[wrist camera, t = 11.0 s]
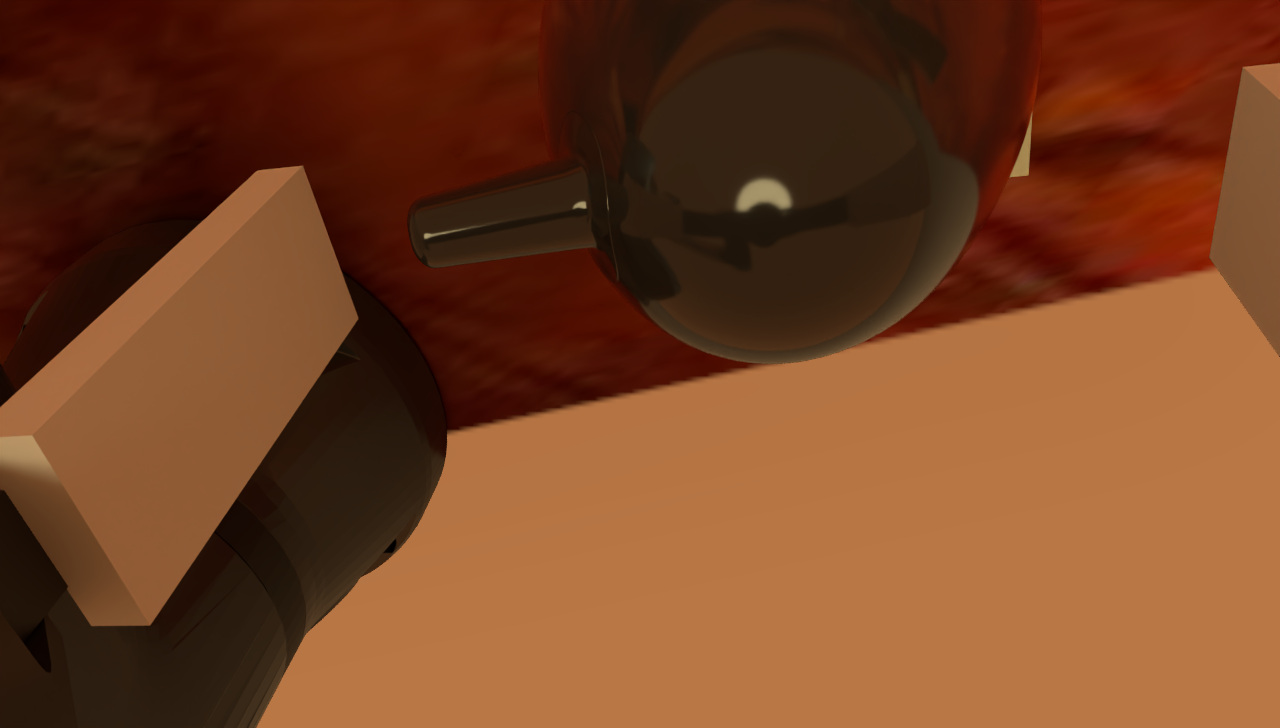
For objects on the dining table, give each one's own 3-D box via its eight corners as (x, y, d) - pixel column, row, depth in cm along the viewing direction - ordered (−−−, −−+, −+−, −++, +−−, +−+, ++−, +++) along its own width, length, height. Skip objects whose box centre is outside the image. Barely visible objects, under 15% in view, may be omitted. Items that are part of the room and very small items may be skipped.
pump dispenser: (556, -232, 23) (260, -131, 11) (1022, -287, 22) (1298, -238, 9) (609, 174, 29) (452, 543, 17) (983, 158, 27) (1120, 562, 15)
